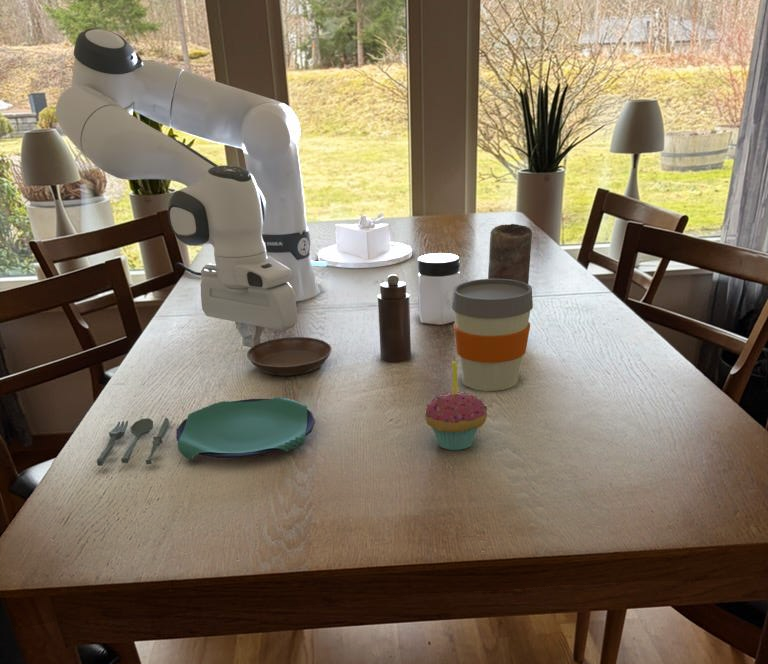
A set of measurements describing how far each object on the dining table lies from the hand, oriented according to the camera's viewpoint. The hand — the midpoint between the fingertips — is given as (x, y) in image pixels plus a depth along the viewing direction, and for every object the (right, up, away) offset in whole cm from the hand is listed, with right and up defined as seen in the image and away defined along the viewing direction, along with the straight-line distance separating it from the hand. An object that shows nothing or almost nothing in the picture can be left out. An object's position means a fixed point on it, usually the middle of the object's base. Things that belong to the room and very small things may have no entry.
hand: (252, 346), depth 143 cm
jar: (+35, +9, +16) cm, 40 cm away
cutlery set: (-1, -20, -29) cm, 35 cm away
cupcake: (+34, -21, -33) cm, 52 cm away
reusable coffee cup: (+41, -9, -14) cm, 44 cm away
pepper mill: (+26, -2, -2) cm, 26 cm away
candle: (+46, +2, +3) cm, 46 cm away
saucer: (+7, -4, -3) cm, 9 cm away
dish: (+19, +38, +66) cm, 78 cm away
